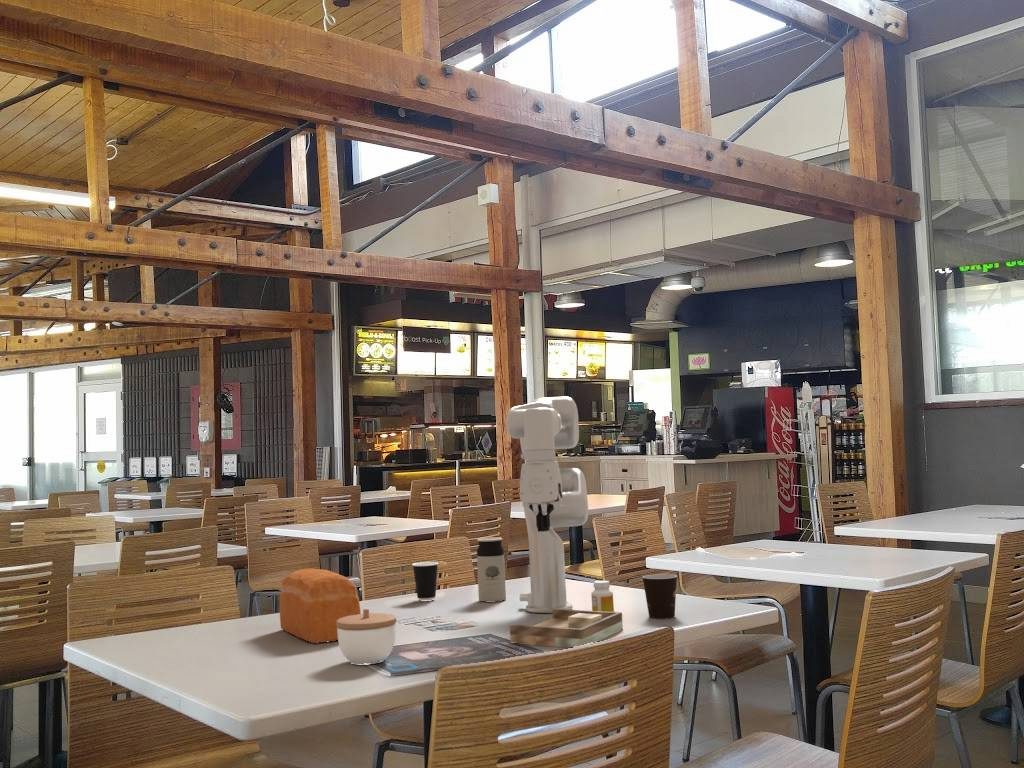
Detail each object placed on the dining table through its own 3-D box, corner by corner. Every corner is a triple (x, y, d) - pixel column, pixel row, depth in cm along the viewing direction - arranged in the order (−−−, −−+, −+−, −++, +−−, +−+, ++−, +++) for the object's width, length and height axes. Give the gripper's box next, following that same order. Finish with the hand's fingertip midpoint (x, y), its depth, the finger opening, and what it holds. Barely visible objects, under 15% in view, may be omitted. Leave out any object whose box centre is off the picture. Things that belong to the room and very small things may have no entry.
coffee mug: (669, 620, 228) (666, 579, 229) (638, 618, 234) (636, 578, 234) (690, 613, 238) (688, 573, 238) (660, 610, 243) (658, 572, 244)
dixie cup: (445, 599, 278) (443, 562, 279) (424, 603, 272) (423, 565, 273) (428, 597, 284) (427, 561, 284) (407, 601, 278) (406, 564, 279)
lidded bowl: (402, 664, 193) (400, 610, 194) (340, 671, 189) (339, 616, 190) (392, 653, 205) (390, 602, 206) (334, 659, 201) (333, 607, 202)
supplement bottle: (617, 619, 233) (615, 580, 234) (610, 623, 228) (608, 583, 229) (597, 618, 236) (595, 579, 236) (589, 622, 231) (587, 582, 231)
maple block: (568, 630, 212) (568, 616, 212) (579, 626, 216) (578, 613, 216) (591, 631, 208) (591, 618, 209) (602, 627, 213) (601, 614, 213)
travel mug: (481, 598, 277) (478, 537, 278) (507, 597, 276) (505, 536, 277) (476, 603, 269) (474, 540, 270) (503, 602, 268) (501, 539, 269)
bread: (328, 623, 247) (326, 563, 248) (365, 638, 224) (363, 571, 225) (276, 630, 239) (275, 568, 241) (309, 646, 217) (307, 577, 218)
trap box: (510, 643, 210) (509, 625, 210) (555, 625, 229) (554, 609, 229) (582, 648, 201) (581, 629, 201) (622, 629, 220) (621, 612, 220)
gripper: (506, 458, 233) (510, 532, 232) (559, 456, 226) (563, 532, 224) (521, 457, 240) (524, 529, 238) (573, 455, 232) (577, 529, 231)
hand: (543, 530), depth 231 cm, fingers closed
